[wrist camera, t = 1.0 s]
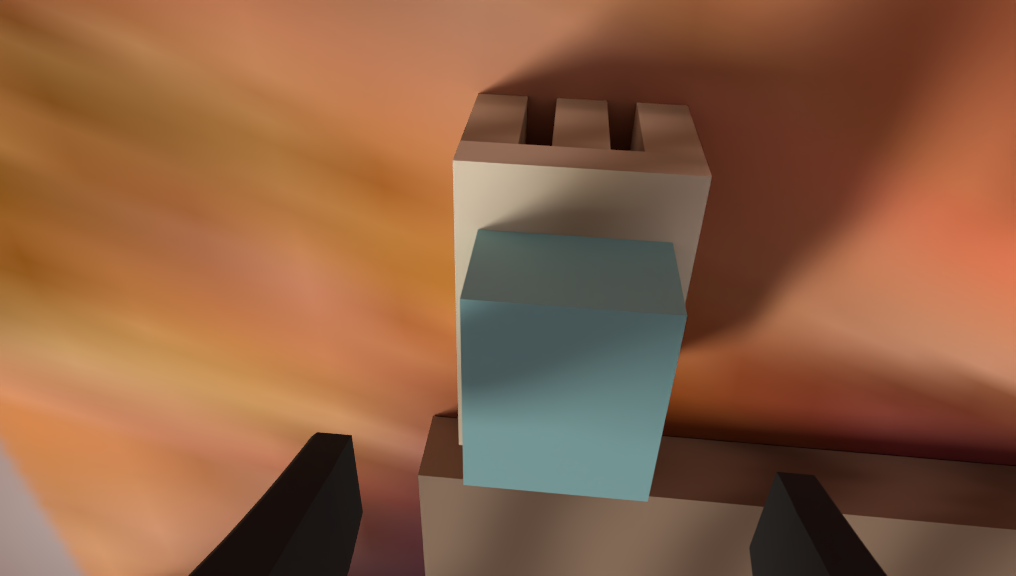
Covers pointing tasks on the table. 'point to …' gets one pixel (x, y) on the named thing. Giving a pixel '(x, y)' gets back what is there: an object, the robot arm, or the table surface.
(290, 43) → the table surface
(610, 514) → the dock
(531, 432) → the teal block
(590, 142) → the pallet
